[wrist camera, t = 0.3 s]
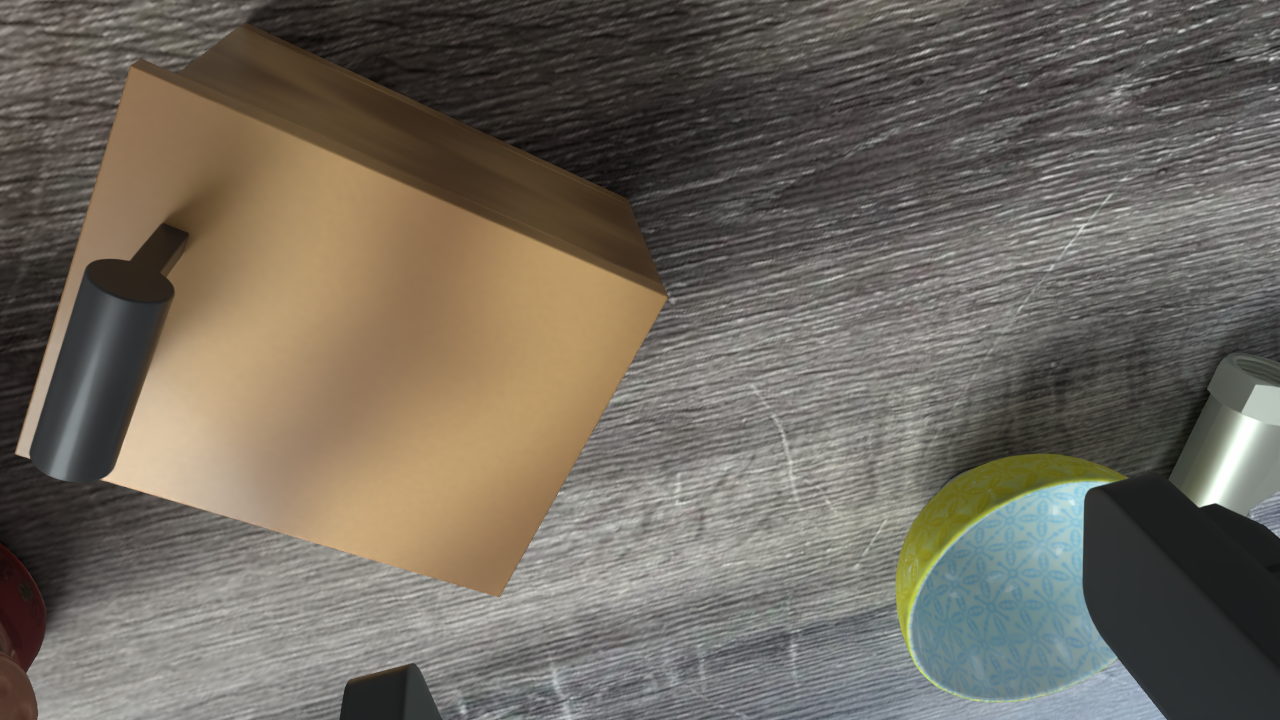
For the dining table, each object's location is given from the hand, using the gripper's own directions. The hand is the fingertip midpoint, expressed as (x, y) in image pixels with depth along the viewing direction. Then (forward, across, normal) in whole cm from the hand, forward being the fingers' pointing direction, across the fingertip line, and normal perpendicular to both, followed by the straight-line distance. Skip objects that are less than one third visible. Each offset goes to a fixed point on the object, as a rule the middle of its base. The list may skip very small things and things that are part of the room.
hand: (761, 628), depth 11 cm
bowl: (+25, -14, +21) cm, 36 cm away
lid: (+17, +8, +3) cm, 19 cm away
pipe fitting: (+25, -26, +21) cm, 41 cm away
